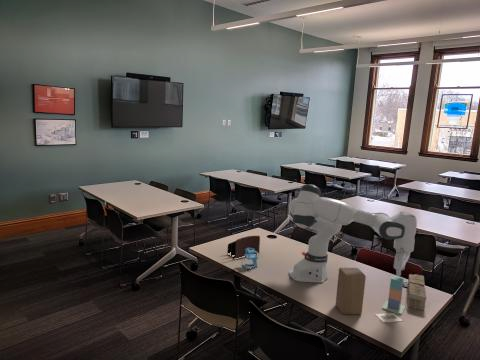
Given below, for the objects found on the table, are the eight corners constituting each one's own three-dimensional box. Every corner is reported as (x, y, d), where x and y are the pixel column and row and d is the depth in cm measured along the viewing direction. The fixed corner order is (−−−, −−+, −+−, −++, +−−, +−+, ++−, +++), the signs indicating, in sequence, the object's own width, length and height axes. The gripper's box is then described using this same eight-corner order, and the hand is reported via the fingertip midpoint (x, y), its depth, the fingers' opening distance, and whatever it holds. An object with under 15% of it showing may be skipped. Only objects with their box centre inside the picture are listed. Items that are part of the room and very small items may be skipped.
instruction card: (383, 322, 166) (383, 321, 166) (374, 314, 173) (374, 313, 173) (402, 321, 168) (402, 320, 168) (393, 313, 175) (393, 312, 175)
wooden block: (334, 304, 181) (338, 266, 177) (354, 304, 181) (358, 267, 178) (342, 315, 171) (346, 275, 168) (362, 315, 172) (366, 275, 168)
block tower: (407, 287, 207) (407, 308, 181) (409, 273, 206) (409, 292, 180) (422, 290, 204) (424, 312, 178) (424, 276, 203) (426, 295, 177)
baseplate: (401, 315, 173) (403, 303, 173) (382, 308, 178) (383, 298, 178) (405, 307, 181) (406, 296, 180) (386, 302, 186) (387, 291, 185)
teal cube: (400, 291, 174) (401, 281, 174) (389, 288, 177) (390, 278, 176) (402, 287, 179) (403, 278, 178) (391, 284, 181) (393, 275, 181)
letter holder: (259, 254, 244) (260, 234, 242) (235, 260, 233) (236, 239, 230) (250, 250, 252) (251, 230, 250) (226, 255, 241) (227, 234, 238)
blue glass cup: (259, 268, 220) (260, 250, 218) (246, 270, 217) (247, 251, 215) (254, 264, 227) (255, 245, 226) (242, 265, 224) (243, 246, 223)
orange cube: (399, 300, 175) (400, 291, 174) (388, 297, 178) (389, 288, 177) (401, 297, 179) (402, 287, 179) (390, 294, 182) (392, 284, 181)
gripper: (406, 253, 163) (403, 281, 166) (414, 241, 180) (410, 267, 182) (392, 249, 167) (388, 277, 169) (400, 239, 184) (397, 264, 186)
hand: (400, 272), depth 176 cm, fingers open, 8 cm apart
